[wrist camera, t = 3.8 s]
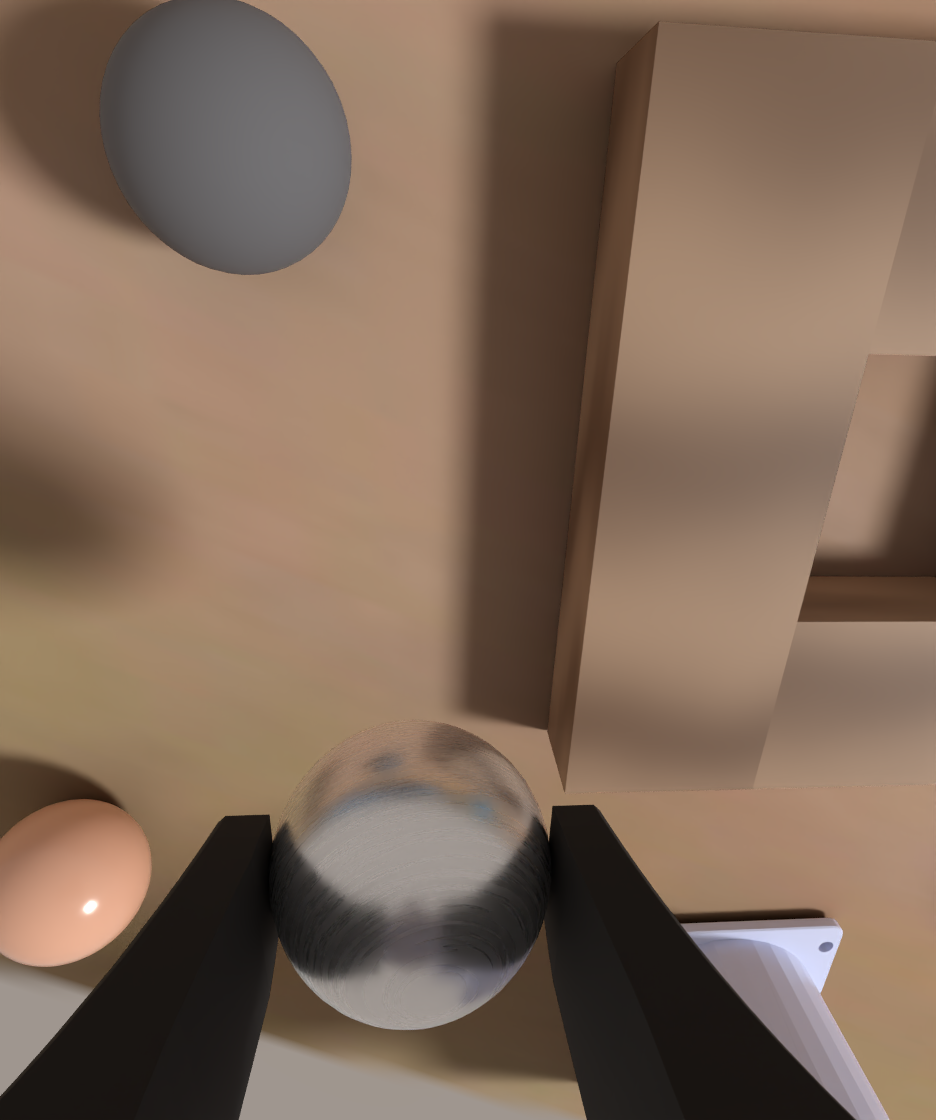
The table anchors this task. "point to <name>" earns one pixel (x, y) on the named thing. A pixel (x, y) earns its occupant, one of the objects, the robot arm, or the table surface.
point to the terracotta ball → (70, 881)
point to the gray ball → (225, 135)
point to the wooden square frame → (746, 419)
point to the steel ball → (410, 875)
